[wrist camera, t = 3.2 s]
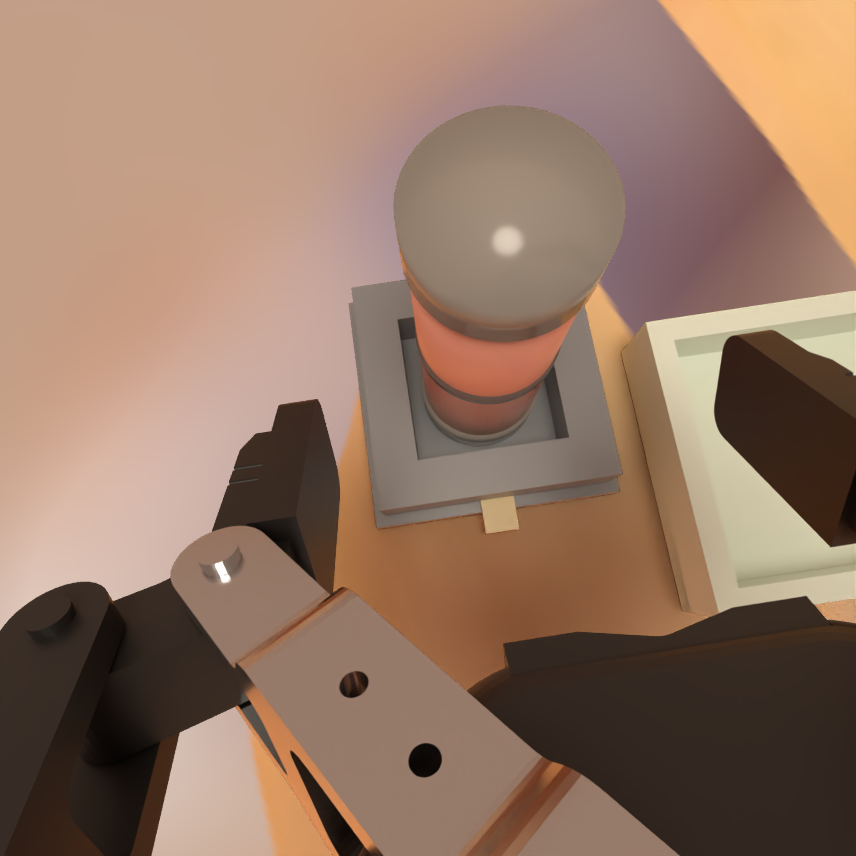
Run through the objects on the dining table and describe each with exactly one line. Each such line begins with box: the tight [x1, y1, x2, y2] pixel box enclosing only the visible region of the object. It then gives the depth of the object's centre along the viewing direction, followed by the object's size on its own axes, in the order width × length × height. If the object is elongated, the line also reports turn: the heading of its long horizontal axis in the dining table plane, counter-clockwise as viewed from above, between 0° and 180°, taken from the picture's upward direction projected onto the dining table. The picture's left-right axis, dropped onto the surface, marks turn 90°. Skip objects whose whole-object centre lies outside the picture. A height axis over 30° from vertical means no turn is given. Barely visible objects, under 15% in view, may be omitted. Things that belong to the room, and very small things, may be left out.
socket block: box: [349, 280, 623, 534], centre depth 22 cm, size 9×11×3 cm
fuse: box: [394, 106, 626, 447], centre depth 16 cm, size 4×4×12 cm
